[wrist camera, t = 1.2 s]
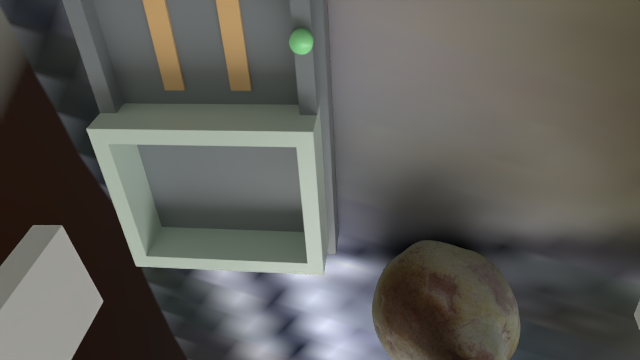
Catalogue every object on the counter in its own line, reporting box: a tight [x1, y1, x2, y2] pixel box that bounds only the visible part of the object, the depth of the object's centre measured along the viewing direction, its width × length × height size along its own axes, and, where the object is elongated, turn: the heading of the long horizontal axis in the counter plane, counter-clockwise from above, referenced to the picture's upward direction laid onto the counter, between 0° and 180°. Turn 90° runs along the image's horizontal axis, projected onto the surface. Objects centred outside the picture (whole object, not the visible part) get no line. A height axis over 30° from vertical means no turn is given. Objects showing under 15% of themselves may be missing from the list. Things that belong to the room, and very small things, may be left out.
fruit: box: [372, 240, 520, 360], centre depth 36 cm, size 10×9×12 cm
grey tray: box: [62, 0, 338, 275], centre depth 33 cm, size 22×14×5 cm, turn 3°
